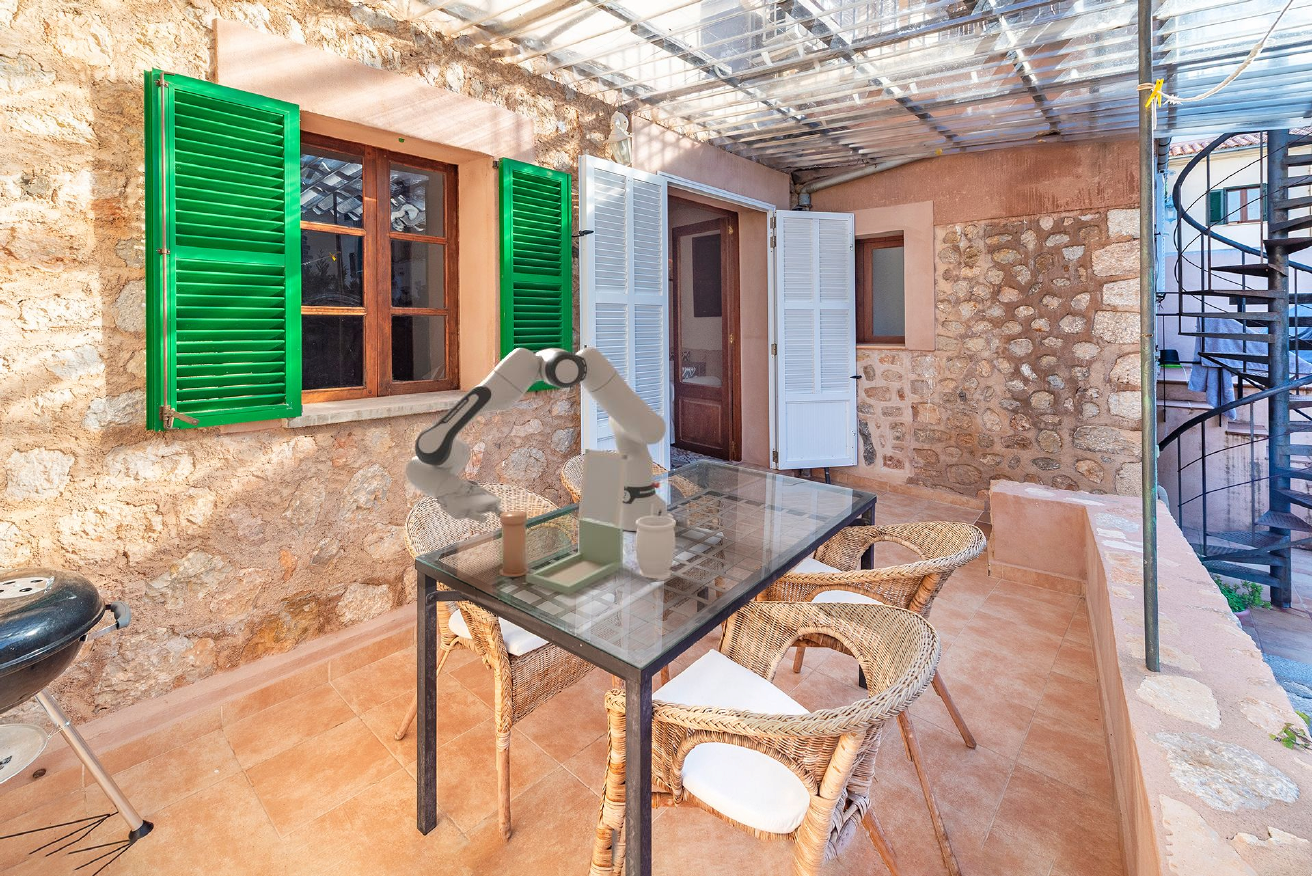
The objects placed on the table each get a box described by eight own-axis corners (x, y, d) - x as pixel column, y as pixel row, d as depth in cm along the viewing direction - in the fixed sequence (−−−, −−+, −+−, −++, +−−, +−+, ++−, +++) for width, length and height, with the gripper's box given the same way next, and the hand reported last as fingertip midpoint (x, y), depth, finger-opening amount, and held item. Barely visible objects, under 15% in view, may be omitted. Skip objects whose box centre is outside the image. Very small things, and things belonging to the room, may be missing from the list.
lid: (577, 517, 175) (579, 517, 175) (618, 526, 168) (619, 526, 168) (585, 448, 174) (587, 449, 175) (626, 455, 167) (627, 455, 168)
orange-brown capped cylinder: (514, 563, 172) (512, 509, 169) (533, 568, 168) (532, 513, 166) (495, 571, 166) (494, 515, 163) (515, 576, 162) (514, 520, 160)
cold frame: (581, 559, 179) (581, 518, 177) (622, 570, 171) (622, 527, 169) (526, 585, 160) (525, 539, 158) (568, 598, 153) (568, 550, 151)
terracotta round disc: (514, 567, 172) (514, 562, 172) (535, 573, 168) (535, 568, 168) (493, 575, 166) (493, 571, 166) (514, 582, 162) (514, 577, 162)
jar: (648, 565, 175) (649, 512, 173) (681, 573, 170) (683, 519, 167) (627, 578, 166) (627, 522, 164) (661, 586, 161) (662, 529, 158)
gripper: (436, 487, 167) (477, 513, 164) (479, 480, 187) (517, 503, 183) (427, 508, 168) (468, 534, 165) (471, 499, 188) (509, 522, 184)
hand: (494, 518), depth 174 cm, fingers open, 8 cm apart
